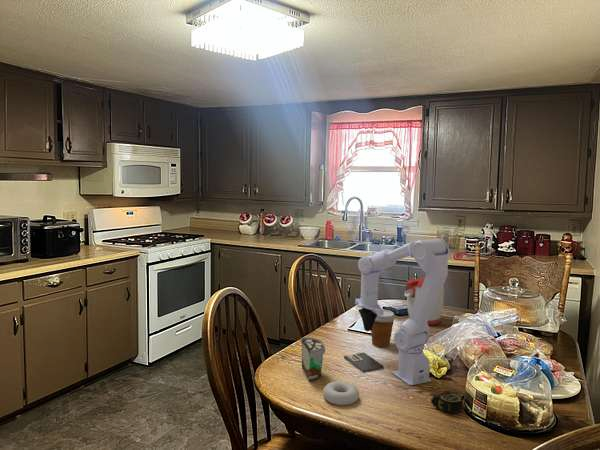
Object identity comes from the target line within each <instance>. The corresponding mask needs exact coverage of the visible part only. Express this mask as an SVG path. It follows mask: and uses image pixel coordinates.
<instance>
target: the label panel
mask: <svg viewBox="0 0 600 450" xmlns="http://www.w3.org/2000/svg"><path fill="white" fill-rule="evenodd" d="M343 359H344V360H345V361H347V362H348V363H350V365H352V366H354V367H355V368H356V369H358V371H360V372H362V373H366V372H372V371H377V370H378V371H379V370H382V369H385V366H384V365H383V364H382V363H380V362H379V361H377V360H376V359H375V358H373V357H372V356H370V355H368V354H367V353H366V352H359V353H353V354H346V355H343Z"/></svg>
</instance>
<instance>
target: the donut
mask: <svg viewBox="0 0 600 450" xmlns="http://www.w3.org/2000/svg"><path fill="white" fill-rule="evenodd" d="M322 393H323V397H324V398H325V400H326V401H327V402H329V403H330V404H333V405H335V406H348V405H353V404H355V403H356V402H357V400H358V399H359V396H360V392H359V389H358V387H356V385H354V384H352V383H350V382H347V381H341V380H339V381H337V380H336V381H332V382H329V383H327V384H326V385H325V386H324V388H323V391H322Z"/></svg>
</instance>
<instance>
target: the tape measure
mask: <svg viewBox="0 0 600 450" xmlns="http://www.w3.org/2000/svg"><path fill="white" fill-rule="evenodd" d="M430 403H431V404H432V406H433V407H435V408H438V409H439V410H440V411H442V412H445V413H447V414H458V413H460V412H462V411H463V410H464V409H463V408H464V398H463V397H462V396H461V395H460V394H458V393H455V392H451V391H444V392H442V393H438V394H436V395H433V396H432V398H430Z"/></svg>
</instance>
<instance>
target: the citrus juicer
mask: <svg viewBox="0 0 600 450" xmlns="http://www.w3.org/2000/svg"><path fill="white" fill-rule="evenodd" d="M425 277H426V275H425V276H423V277H422V278H411V279H409V280H407V281H406V283H407V284H406V285H407V286H406V291H404V292H403V296H405V297H407V298H406V305H407V314H408V317H409V316H410V314H411V311H412V309H413V306H414V304H415V301H416V299H417V296H418V294H419V292H420V289H421V287H422V284H423V282H424V279H425ZM445 287H446V284H445V283H444V285H443V287H442V290H441V292H440V294H439V297H438V299H437V301H436V304H435V306H434V308H433V311H432V313H431V315H430V318H429V320H428V322H427V324H428V326H431V325H436V324H437V325H438V323H439V321H440V319H441V317H442V313H443V309H444V301H445V300H444V299H445Z"/></svg>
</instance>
